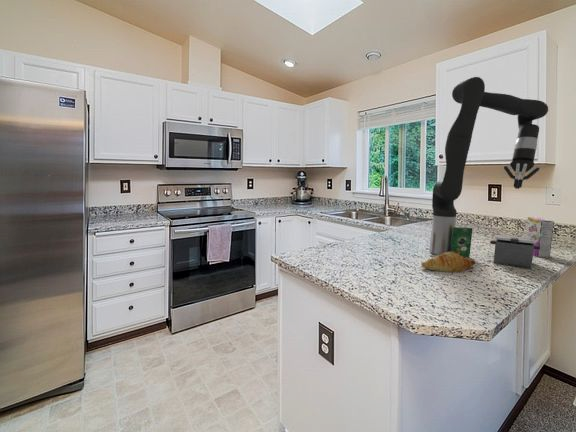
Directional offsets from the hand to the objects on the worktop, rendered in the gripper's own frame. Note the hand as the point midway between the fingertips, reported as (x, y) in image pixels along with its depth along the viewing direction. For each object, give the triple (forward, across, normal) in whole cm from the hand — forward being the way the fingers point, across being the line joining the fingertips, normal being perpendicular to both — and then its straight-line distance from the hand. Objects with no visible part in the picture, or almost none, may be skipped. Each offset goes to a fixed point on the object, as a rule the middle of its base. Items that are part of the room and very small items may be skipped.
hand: (517, 188), depth 131 cm
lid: (+23, +3, -14) cm, 27 cm away
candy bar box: (+27, +11, +14) cm, 33 cm away
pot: (+32, +4, -9) cm, 33 cm away
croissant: (+38, -15, -35) cm, 54 cm away
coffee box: (+34, -15, -13) cm, 39 cm away
